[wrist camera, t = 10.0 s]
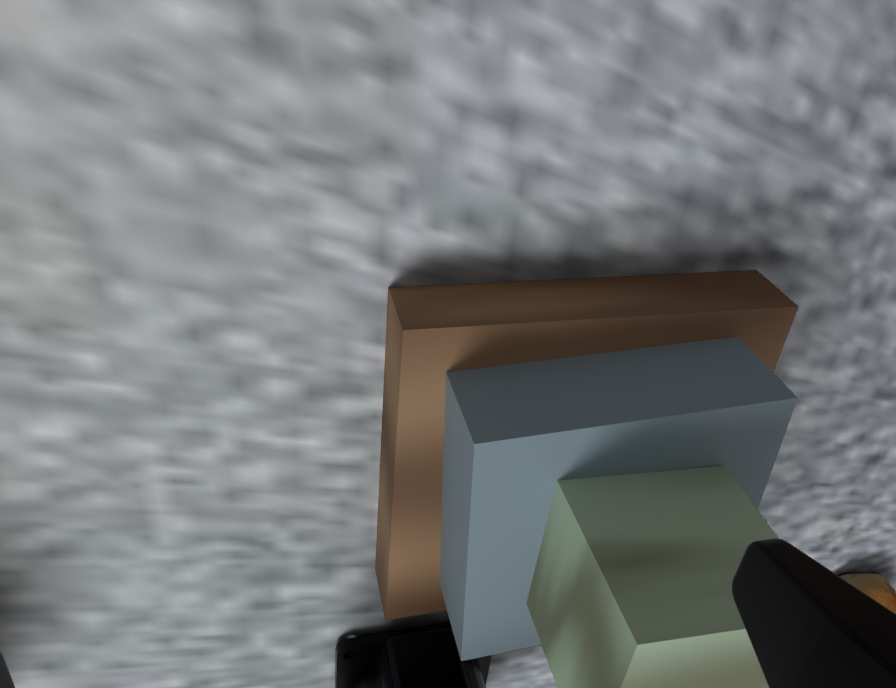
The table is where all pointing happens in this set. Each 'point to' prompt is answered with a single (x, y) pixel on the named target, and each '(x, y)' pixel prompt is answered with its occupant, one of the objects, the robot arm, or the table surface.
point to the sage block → (646, 581)
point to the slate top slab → (583, 457)
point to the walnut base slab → (519, 341)
